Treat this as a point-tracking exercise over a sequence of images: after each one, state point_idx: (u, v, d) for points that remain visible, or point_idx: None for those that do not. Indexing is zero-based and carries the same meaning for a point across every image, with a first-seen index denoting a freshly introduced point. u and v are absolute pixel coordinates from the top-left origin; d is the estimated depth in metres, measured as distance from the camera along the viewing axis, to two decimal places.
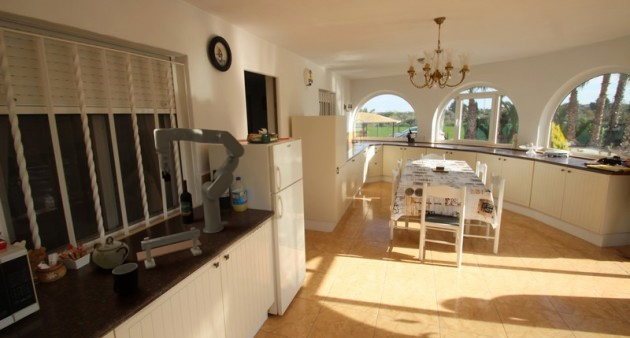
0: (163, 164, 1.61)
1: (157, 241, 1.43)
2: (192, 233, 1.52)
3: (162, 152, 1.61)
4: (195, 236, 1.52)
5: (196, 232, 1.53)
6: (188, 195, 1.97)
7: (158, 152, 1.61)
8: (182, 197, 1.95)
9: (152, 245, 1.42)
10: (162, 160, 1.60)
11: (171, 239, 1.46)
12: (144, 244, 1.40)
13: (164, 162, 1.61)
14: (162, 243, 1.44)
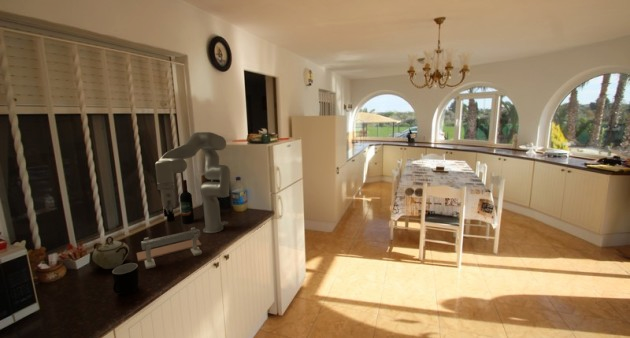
0: (166, 202, 1.40)
1: (157, 241, 1.43)
2: (192, 233, 1.52)
3: (165, 188, 1.40)
4: (195, 236, 1.52)
5: (196, 232, 1.53)
6: (188, 195, 1.97)
7: (160, 188, 1.40)
8: (182, 197, 1.95)
9: (152, 245, 1.42)
10: (165, 197, 1.39)
11: (171, 239, 1.46)
12: (144, 244, 1.40)
13: (167, 200, 1.40)
14: (162, 243, 1.44)
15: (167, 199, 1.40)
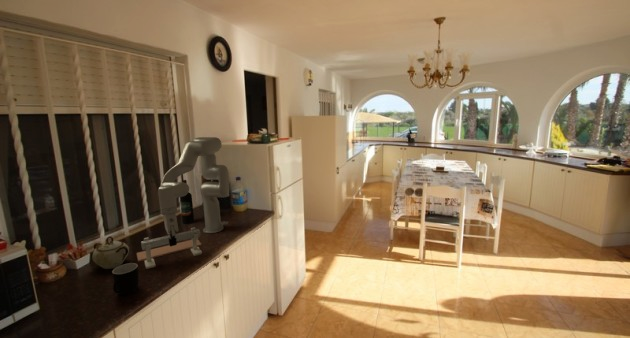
0: (169, 227, 1.42)
1: (157, 241, 1.43)
2: (192, 233, 1.52)
3: (168, 213, 1.42)
4: (195, 236, 1.52)
5: (196, 232, 1.53)
6: (188, 195, 1.97)
7: (163, 213, 1.42)
8: (182, 197, 1.95)
9: (152, 245, 1.42)
10: (168, 222, 1.42)
11: None
12: (144, 244, 1.40)
13: (170, 224, 1.42)
14: (162, 243, 1.44)
15: (170, 224, 1.42)
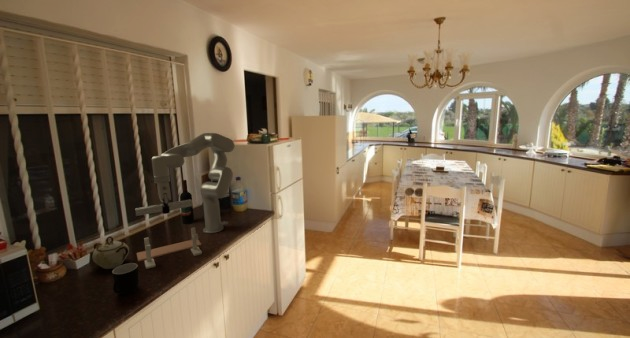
0: (162, 194, 1.49)
1: (151, 208, 1.50)
2: (184, 202, 1.59)
3: (161, 181, 1.49)
4: (195, 236, 1.52)
5: (188, 202, 1.61)
6: (188, 195, 1.97)
7: (156, 181, 1.49)
8: (182, 197, 1.95)
9: (146, 212, 1.49)
10: (161, 190, 1.49)
11: None
12: (138, 210, 1.47)
13: (163, 192, 1.49)
14: (155, 210, 1.52)
15: (163, 192, 1.49)
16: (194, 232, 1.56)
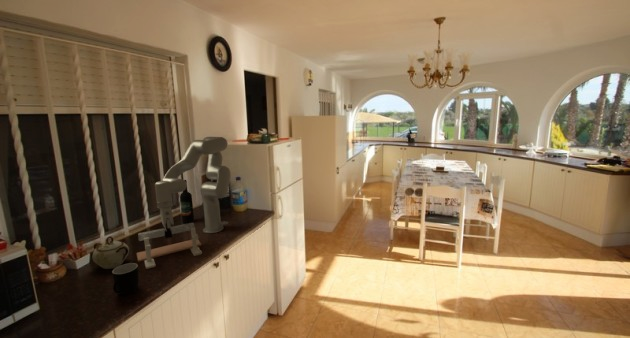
0: (165, 220, 1.52)
1: (153, 233, 1.52)
2: (186, 226, 1.62)
3: (164, 207, 1.52)
4: (195, 236, 1.52)
5: (190, 225, 1.63)
6: (188, 195, 1.97)
7: (159, 207, 1.52)
8: (182, 197, 1.95)
9: (149, 236, 1.51)
10: (164, 215, 1.51)
11: None
12: (141, 235, 1.49)
13: (166, 217, 1.52)
14: (158, 235, 1.54)
15: (166, 217, 1.52)
16: (194, 232, 1.56)
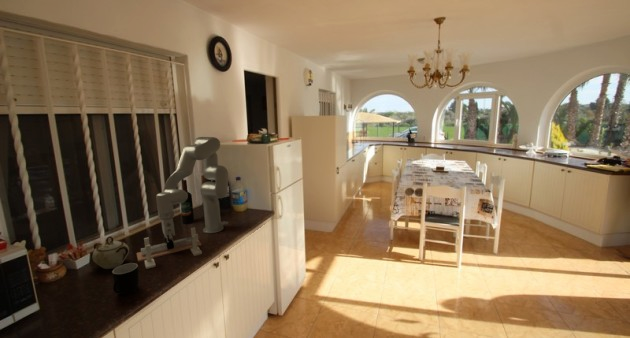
0: (166, 231, 1.53)
1: (156, 248, 1.54)
2: (188, 240, 1.63)
3: (165, 218, 1.53)
4: (195, 236, 1.52)
5: None
6: (188, 195, 1.97)
7: (161, 218, 1.53)
8: None
9: (151, 252, 1.53)
10: (165, 227, 1.52)
11: None
12: (144, 251, 1.51)
13: (167, 229, 1.53)
14: (160, 250, 1.56)
15: (167, 228, 1.53)
16: (194, 232, 1.56)
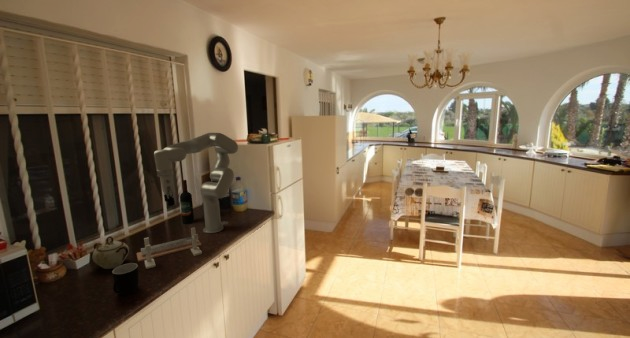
0: (166, 188, 1.52)
1: (156, 248, 1.54)
2: (188, 240, 1.63)
3: (164, 175, 1.52)
4: (195, 236, 1.52)
5: None
6: (188, 195, 1.97)
7: (160, 175, 1.52)
8: (182, 197, 1.95)
9: (151, 252, 1.53)
10: (164, 184, 1.52)
11: (168, 246, 1.58)
12: (144, 251, 1.51)
13: (167, 186, 1.52)
14: (160, 250, 1.56)
15: (167, 185, 1.52)
16: (194, 232, 1.56)
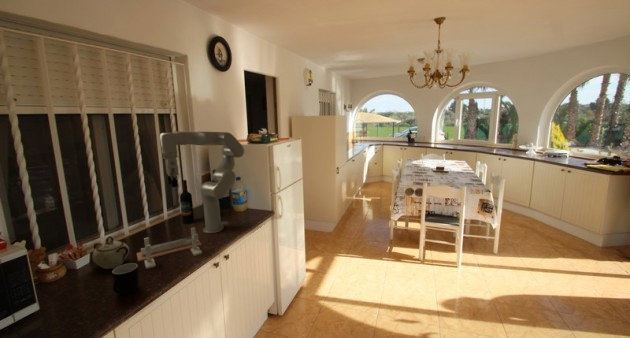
0: (170, 169, 1.56)
1: (156, 248, 1.54)
2: (188, 240, 1.63)
3: (169, 157, 1.56)
4: (195, 236, 1.52)
5: None
6: (188, 195, 1.97)
7: (165, 157, 1.56)
8: (182, 197, 1.95)
9: (151, 252, 1.53)
10: (169, 165, 1.56)
11: (168, 246, 1.58)
12: (144, 251, 1.51)
13: (171, 167, 1.56)
14: (160, 250, 1.56)
15: (171, 167, 1.56)
16: (194, 232, 1.56)
